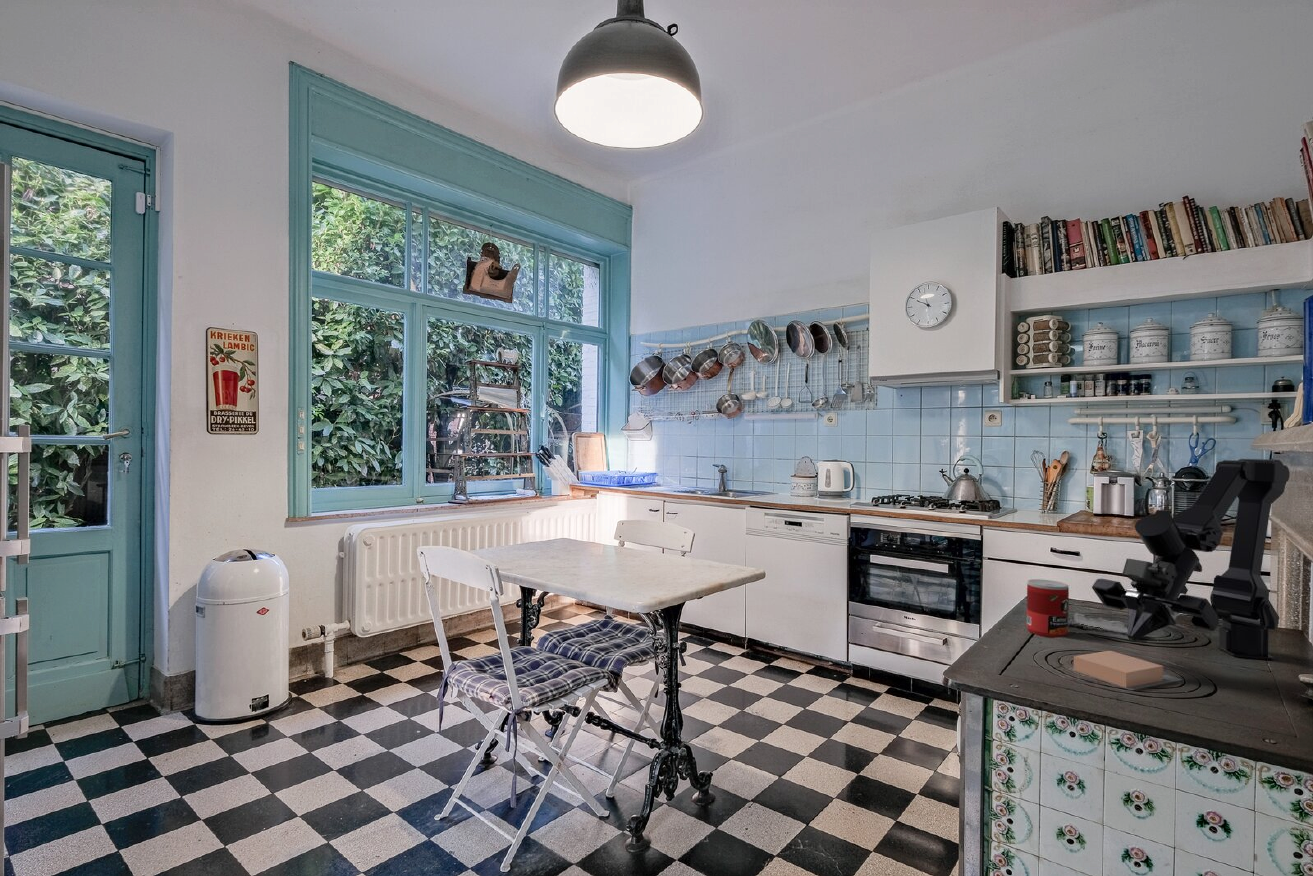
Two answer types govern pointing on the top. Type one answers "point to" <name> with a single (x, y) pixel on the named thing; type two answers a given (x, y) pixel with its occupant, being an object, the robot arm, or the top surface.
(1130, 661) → the terracotta tile
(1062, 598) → the canned food
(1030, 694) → the top surface
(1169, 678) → the rubber mat
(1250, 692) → the top surface
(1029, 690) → the top surface
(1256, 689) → the top surface
